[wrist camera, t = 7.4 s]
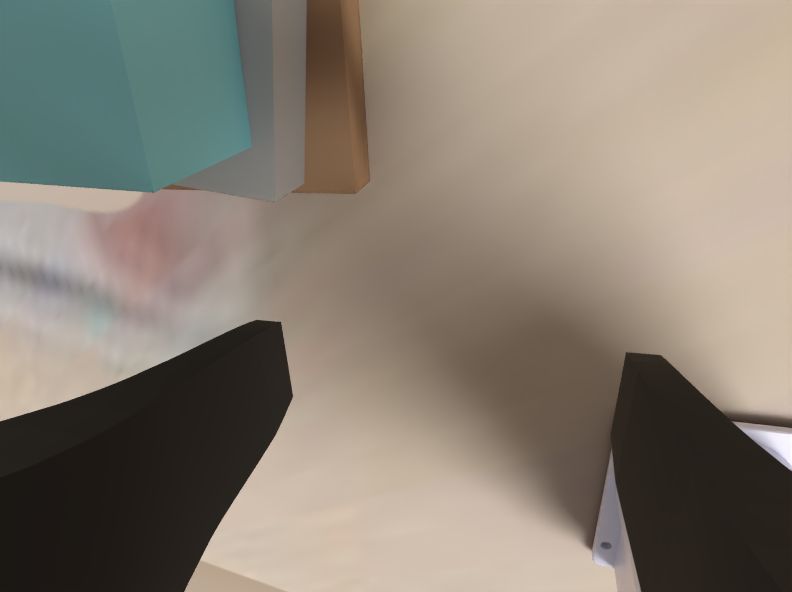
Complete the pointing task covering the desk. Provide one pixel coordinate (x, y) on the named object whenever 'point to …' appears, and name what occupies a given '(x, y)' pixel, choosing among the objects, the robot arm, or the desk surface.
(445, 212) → the desk surface
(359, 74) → the walnut slab
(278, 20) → the gray slab
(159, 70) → the teal block
